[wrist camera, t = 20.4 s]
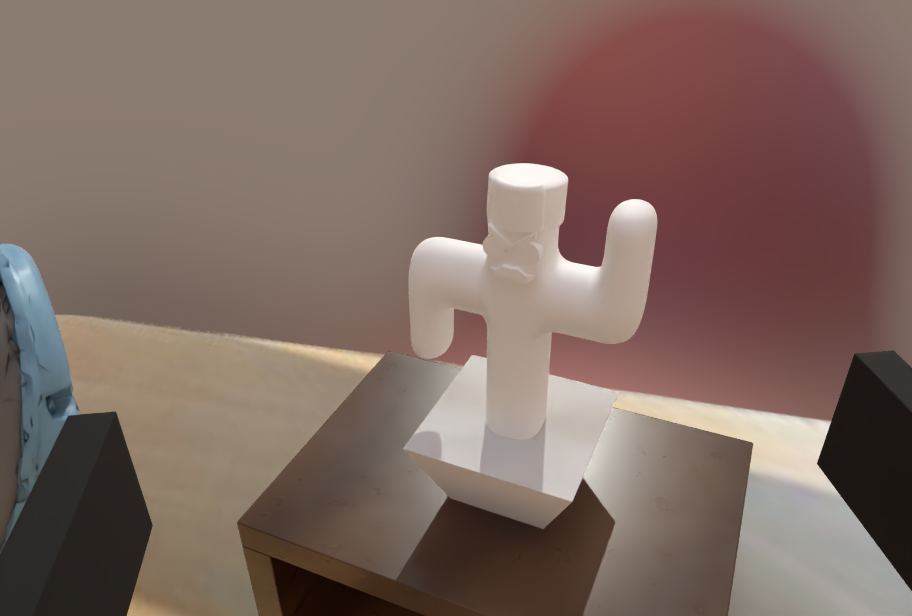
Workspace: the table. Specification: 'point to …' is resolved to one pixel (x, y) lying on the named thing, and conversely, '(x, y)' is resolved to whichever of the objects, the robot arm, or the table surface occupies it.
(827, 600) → the table surface
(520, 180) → the figurine
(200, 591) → the table surface
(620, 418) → the shelf stand
